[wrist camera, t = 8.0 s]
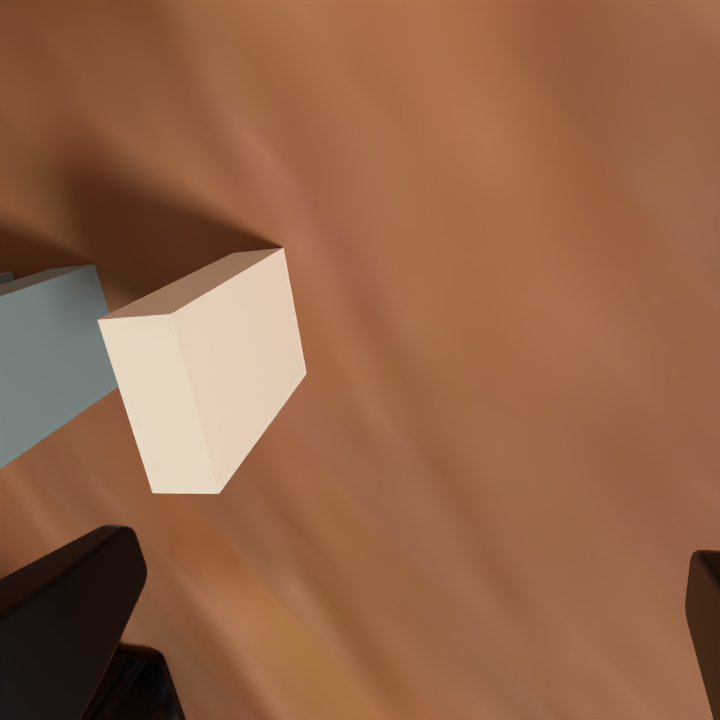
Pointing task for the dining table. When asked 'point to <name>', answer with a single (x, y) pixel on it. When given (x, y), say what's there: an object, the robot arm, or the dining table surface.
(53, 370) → the domino
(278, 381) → the domino
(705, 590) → the robot arm
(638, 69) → the dining table surface
